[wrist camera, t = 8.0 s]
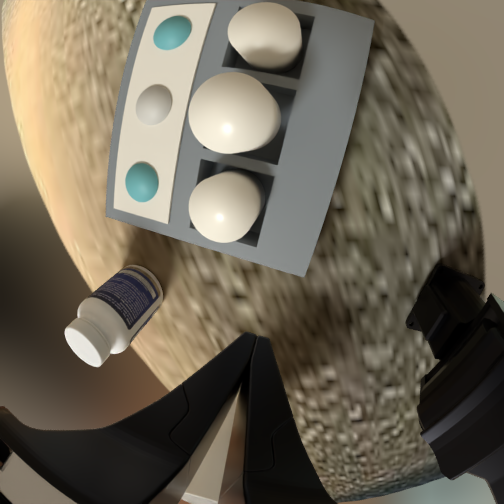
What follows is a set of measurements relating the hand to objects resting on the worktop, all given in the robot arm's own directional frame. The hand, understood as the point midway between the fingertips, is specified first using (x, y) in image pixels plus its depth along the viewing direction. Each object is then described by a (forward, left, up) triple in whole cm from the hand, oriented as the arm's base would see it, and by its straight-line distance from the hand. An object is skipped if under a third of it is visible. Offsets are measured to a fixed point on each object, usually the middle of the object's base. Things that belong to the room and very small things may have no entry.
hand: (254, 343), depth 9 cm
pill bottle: (+12, +10, -13) cm, 20 cm away
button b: (+4, -7, -9) cm, 12 cm away
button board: (+6, -7, -12) cm, 16 cm away
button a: (+4, -12, -12) cm, 17 cm away
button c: (+4, -1, -12) cm, 12 cm away
